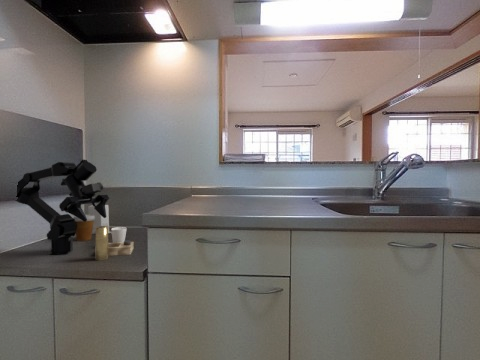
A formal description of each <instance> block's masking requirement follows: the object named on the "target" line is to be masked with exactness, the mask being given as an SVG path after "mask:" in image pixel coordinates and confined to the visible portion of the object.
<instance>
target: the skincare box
mask: <svg viewBox="0 0 480 360" xmlns="http://www.w3.org/2000/svg"><path fill="white" fill-rule="evenodd" d="M87 208H88V211H87V213H88V214H91V215H94V217H95V219H94V223H93V230H92V235H95V227H97V226H108V232H110V218H109V216H110V214H109V213H110V210H109V204H105V210H106V218H103V217H102V216H101V215H100V214H99V213H98V212H97V211H96V210H95V209H94V206H93V205H92V204H91V205H89V206H87Z"/></svg>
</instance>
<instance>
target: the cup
mask: <svg viewBox="0 0 480 360" xmlns="http://www.w3.org/2000/svg"><path fill="white" fill-rule="evenodd" d="M127 230H128V229H127V227H125V226H116V227H112V228H111V229H110V230H109V232H108V234H111V240H112V243H116V242H124V241H126V234H127Z"/></svg>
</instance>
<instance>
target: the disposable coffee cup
mask: <svg viewBox="0 0 480 360" xmlns="http://www.w3.org/2000/svg"><path fill="white" fill-rule="evenodd" d="M85 216H86V218H87V221H86V222H84V221H83V220H81V219H79V218H78V217H76V216H74V215H73V218H74V219H75V221H76V222H77V230H76V233H75V239H76V241H77V242H87V241H90V240H92V235H93V234H92V230H93V223H94V219H95V217H94V215H91V214H89V213H88V214H86V213H85Z"/></svg>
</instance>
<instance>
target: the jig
mask: <svg viewBox="0 0 480 360" xmlns="http://www.w3.org/2000/svg"><path fill="white" fill-rule="evenodd" d="M134 243H135V242H134V241H131V240H125V241H124V242H116V243H113V242H108V257H109V256H126V255H127V256H128V255H132V253H133V251H134V248H135V247H134Z"/></svg>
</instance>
